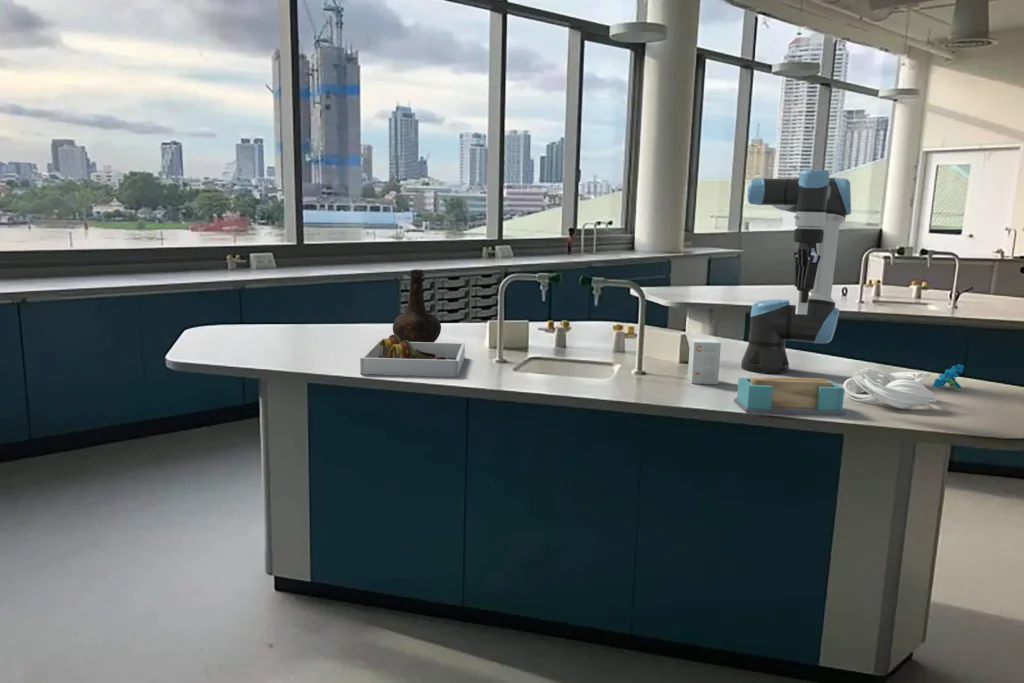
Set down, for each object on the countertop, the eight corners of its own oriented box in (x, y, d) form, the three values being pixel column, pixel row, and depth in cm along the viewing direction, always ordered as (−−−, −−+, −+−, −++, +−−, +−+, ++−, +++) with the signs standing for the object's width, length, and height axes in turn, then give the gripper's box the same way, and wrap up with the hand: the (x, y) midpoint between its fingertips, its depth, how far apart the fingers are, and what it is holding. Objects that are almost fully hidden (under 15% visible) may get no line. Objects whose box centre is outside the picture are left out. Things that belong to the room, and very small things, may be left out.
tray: (377, 355, 259) (377, 341, 258) (464, 357, 259) (464, 343, 258) (360, 374, 231) (360, 358, 230) (458, 376, 231) (458, 360, 230)
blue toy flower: (931, 377, 239) (960, 358, 234) (944, 391, 239) (973, 373, 234) (932, 389, 230) (962, 369, 225) (946, 403, 229) (976, 384, 224)
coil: (870, 389, 231) (873, 359, 229) (953, 405, 212) (956, 372, 210) (823, 401, 217) (825, 369, 215) (907, 419, 197) (910, 384, 196)
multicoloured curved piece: (472, 367, 246) (472, 337, 244) (417, 378, 228) (417, 345, 226) (422, 355, 261) (422, 327, 260) (367, 365, 244) (367, 335, 242)
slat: (748, 401, 206) (750, 376, 204) (822, 403, 206) (824, 378, 204) (753, 406, 201) (756, 380, 200) (829, 408, 201) (831, 382, 200)
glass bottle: (419, 351, 267) (420, 272, 262) (382, 345, 277) (381, 269, 272) (450, 344, 282) (451, 269, 277) (414, 339, 291) (414, 266, 286)
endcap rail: (734, 401, 209) (736, 377, 208) (827, 404, 209) (830, 379, 208) (746, 412, 198) (748, 386, 197) (844, 415, 198) (847, 389, 197)
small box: (712, 379, 235) (716, 338, 233) (718, 384, 229) (721, 342, 227) (686, 379, 235) (689, 338, 233) (691, 384, 229) (694, 341, 227)
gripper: (787, 226, 211) (779, 310, 216) (804, 228, 198) (796, 317, 203) (813, 227, 211) (805, 311, 216) (833, 229, 198) (824, 317, 203)
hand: (801, 313), depth 209 cm, fingers closed
